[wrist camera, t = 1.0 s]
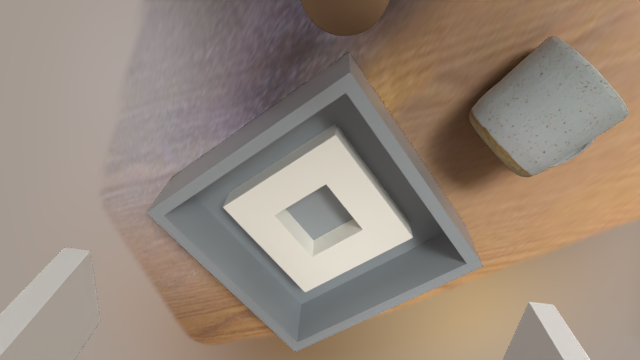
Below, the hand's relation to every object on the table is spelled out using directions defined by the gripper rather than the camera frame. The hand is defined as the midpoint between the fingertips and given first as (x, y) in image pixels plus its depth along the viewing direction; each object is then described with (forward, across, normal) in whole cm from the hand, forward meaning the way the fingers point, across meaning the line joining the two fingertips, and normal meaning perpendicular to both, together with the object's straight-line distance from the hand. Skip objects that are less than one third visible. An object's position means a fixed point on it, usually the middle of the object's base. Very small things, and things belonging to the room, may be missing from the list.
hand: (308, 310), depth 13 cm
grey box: (+25, +1, -10) cm, 27 cm away
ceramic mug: (+25, +17, +2) cm, 30 cm away
